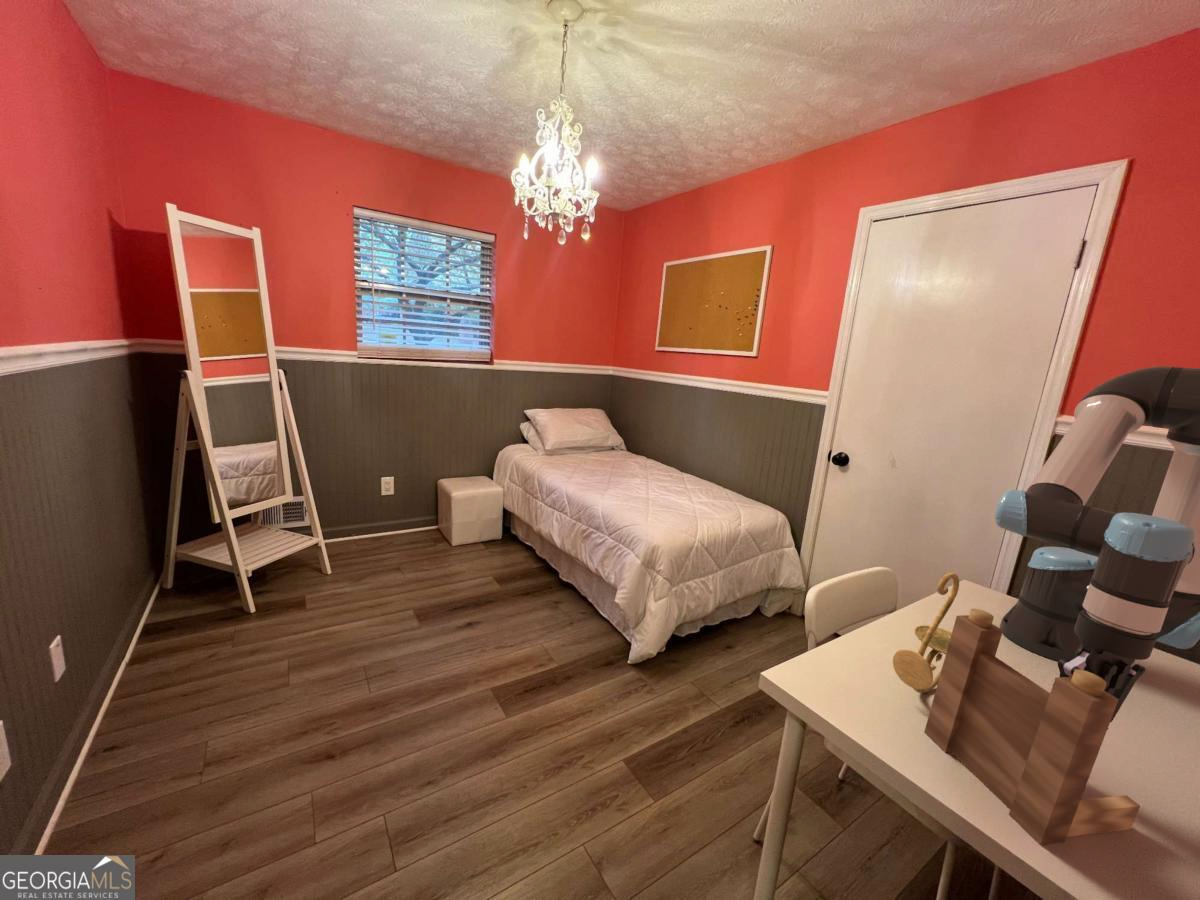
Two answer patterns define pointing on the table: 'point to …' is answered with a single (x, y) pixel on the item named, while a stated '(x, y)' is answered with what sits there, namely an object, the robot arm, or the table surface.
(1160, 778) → the table surface
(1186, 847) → the table surface
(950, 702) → the headboard
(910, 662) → the wall sconce
